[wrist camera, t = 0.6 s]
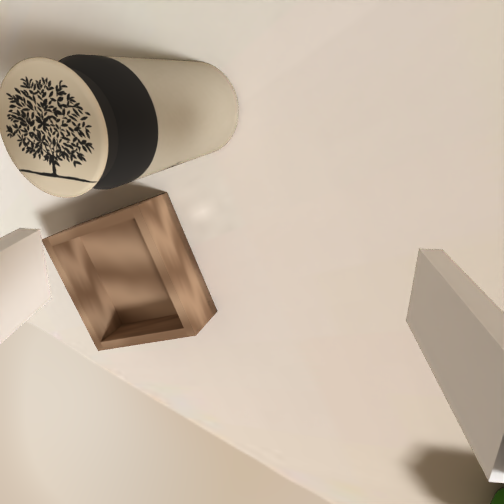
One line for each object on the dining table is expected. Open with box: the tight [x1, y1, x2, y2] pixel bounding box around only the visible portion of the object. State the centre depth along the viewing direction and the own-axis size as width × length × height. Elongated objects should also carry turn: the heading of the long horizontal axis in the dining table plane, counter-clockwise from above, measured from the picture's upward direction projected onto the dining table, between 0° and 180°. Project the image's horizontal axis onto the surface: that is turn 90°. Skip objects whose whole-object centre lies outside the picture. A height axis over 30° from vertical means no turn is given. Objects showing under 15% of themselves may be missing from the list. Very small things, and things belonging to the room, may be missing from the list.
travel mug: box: [0, 55, 239, 198], centre depth 31 cm, size 8×8×18 cm
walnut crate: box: [42, 192, 217, 351], centre depth 46 cm, size 14×14×5 cm
